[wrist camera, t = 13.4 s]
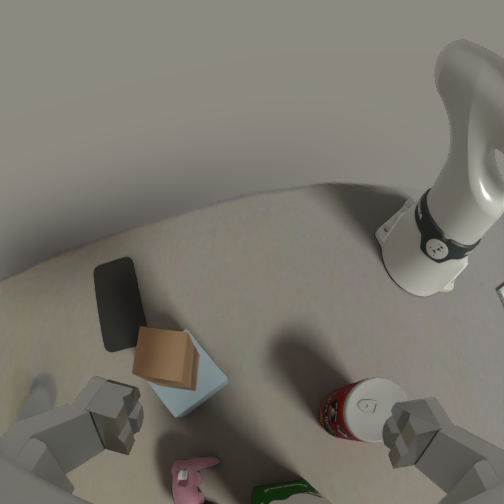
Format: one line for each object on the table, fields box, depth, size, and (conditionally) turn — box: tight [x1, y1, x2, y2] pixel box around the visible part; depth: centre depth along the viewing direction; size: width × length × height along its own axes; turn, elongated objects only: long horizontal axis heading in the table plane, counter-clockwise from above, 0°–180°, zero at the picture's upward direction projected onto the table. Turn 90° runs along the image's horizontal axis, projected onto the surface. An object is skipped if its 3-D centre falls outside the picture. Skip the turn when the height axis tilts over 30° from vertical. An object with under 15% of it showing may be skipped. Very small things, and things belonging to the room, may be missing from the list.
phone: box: [94, 257, 147, 352], centre depth 42 cm, size 7×1×15 cm
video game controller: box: [171, 457, 220, 504], centre depth 27 cm, size 10×5×7 cm, turn 5°
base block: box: [148, 329, 229, 417], centre depth 35 cm, size 8×8×6 cm
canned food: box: [320, 377, 408, 443], centre depth 31 cm, size 8×8×11 cm
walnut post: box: [132, 326, 200, 391], centre depth 28 cm, size 4×4×10 cm
